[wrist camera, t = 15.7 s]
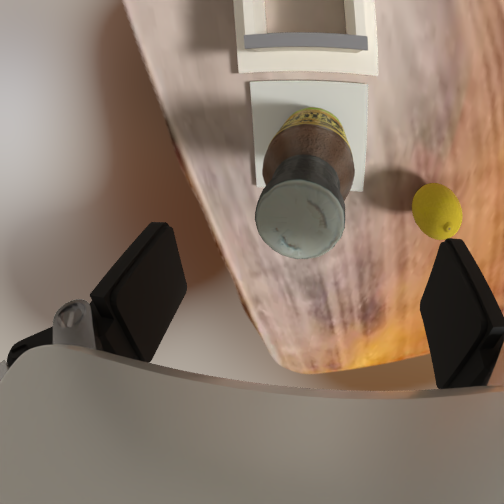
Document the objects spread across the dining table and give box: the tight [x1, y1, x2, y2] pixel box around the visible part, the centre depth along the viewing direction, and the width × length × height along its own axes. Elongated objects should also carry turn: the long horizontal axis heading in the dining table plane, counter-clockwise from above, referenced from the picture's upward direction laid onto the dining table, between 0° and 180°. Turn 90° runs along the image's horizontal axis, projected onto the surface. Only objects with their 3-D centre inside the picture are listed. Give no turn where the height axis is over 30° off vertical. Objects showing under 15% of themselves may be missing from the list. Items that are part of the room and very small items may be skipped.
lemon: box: [412, 183, 462, 240], centre depth 27 cm, size 6×6×8 cm
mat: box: [250, 80, 368, 192], centre depth 29 cm, size 12×12×1 cm
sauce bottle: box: [255, 107, 355, 259], centre depth 21 cm, size 6×6×20 cm
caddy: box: [233, 0, 378, 76], centre depth 19 cm, size 14×14×8 cm
